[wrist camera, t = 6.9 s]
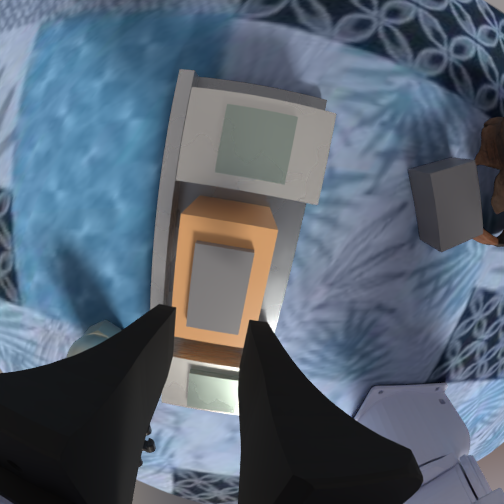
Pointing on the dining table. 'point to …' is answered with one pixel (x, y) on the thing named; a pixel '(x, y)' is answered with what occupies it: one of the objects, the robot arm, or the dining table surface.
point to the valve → (94, 338)
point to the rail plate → (236, 189)
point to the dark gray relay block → (447, 202)
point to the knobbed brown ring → (496, 156)
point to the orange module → (221, 269)
